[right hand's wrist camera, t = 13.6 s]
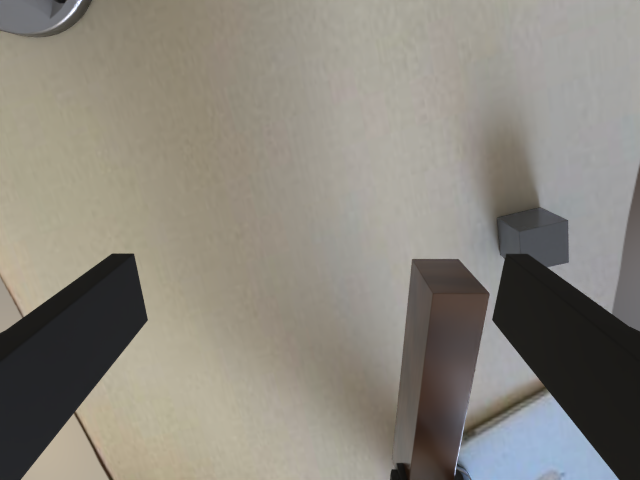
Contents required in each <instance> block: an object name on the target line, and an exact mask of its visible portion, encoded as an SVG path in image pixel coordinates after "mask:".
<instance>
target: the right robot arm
mask: <svg viewBox="0 0 640 480" xmlns="http://www.w3.org/2000/svg"><path fill="white" fill-rule="evenodd" d="M90 3H91V0H0V30H1V31H5V32H9V33H13V34H17V35H22V36H28V37H46V36H52V35H55V34H58V33H60V32H63V31H65V30H66V29H68V28H70V27H71V26H72V25H74V24H75V23H76V22H77V21H78V20H79V19H80V18H81V17H82V16H83V14H84V13H85V12H86V10H87V8H88V7H89V5H90ZM147 320H148V319H147V314H146V309H145V304H144V300H143V295H142V290H141V285H140V280H139V276H138V271H137V266H136V261H135V256H134V254H111V255H110V256H108V257H107V258H106V259H104V260H103V261H101V262H100V263H99V264H97V265H96V266H94V267H93V268H92V269H90V270H89V271H87V272H86V273H85V274H83V275H82V276H81V277H79V278H78V279H76V280H75V281H74V282H72V283H71V284H69V285H68V286H67V287H65V288H64V289H62V290H61V291H60V292H58V293H57V294H56V295H54V296H53V297H51V298H50V299H49V300H47V301H46V302H44V303H43V304H42V305H40V306H39V307H37V308H36V309H35V310H33V311H32V312H31V313H29V314H28V315H26V316H25V317H24V318H22V319H21V320H19V321H18V322H17V323H15V324H14V325H12V326H11V327H10V328H8V329H7V330H6V331H3V332H1V333H0V480H21V479H22V477H23V476H24V475H25V474H26V472H27V471H28V470H29V469H30V467H31V466H32V465H33V464H34V462H35V461H36V460H37V458H38V457H39V456H40V455H41V453H42V452H43V451H44V450H45V448H46V447H47V446H48V445H49V443H50V442H51V441H52V440H53V438H54V437H55V436H56V435H57V433H58V432H59V431H60V430H61V428H62V427H63V426H64V425H65V423H66V422H67V421H68V420H69V418H70V417H71V416H72V415H73V413H74V412H75V411H76V410H77V408H78V407H79V406H80V405H81V403H82V402H83V401H84V400H85V398H86V397H87V396H88V395H89V393H90V392H91V391H92V389H93V388H94V387H95V386H96V384H97V383H98V382H99V381H100V379H101V378H102V377H103V376H104V374H105V373H106V372H107V371H108V369H109V368H110V367H111V366H112V364H113V363H114V362H115V361H116V359H117V358H118V357H119V356H120V354H121V353H122V352H123V351H124V349H125V348H126V347H127V346H128V344H129V343H130V342H131V341H132V339H133V338H134V337H135V336H136V334H137V333H138V332H139V331H140V329H141V328H142V327H143V325H144V324H145V323H146V322H147ZM492 320H493V322H494V323H495V324H496V325H497V327H498V328H499V329H500V331H501V332H502V333H503V334H504V336H505V337H506V338H507V339H508V341H509V342H510V343H511V344H512V346H513V347H514V348H515V349H516V351H517V352H518V353H519V354H520V356H521V357H522V358H523V359H524V361H525V362H526V363H527V364H528V366H529V367H530V368H531V369H532V371H533V372H534V373H535V374H536V376H537V377H538V378H539V379H540V381H541V382H542V383H543V384H544V386H545V387H546V388H547V389H548V391H549V392H550V393H551V395H552V396H553V397H554V398H555V400H556V401H557V402H558V403H559V405H560V406H561V407H562V408H563V410H564V411H565V412H566V413H567V415H568V416H569V417H570V418H571V420H572V421H573V422H574V423H575V425H576V426H577V427H578V428H579V430H580V431H581V432H582V433H583V435H584V436H585V437H586V438H587V440H588V441H589V442H590V443H591V445H592V446H593V447H594V448H595V450H596V451H597V452H598V453H599V455H600V456H601V457H602V459H603V460H604V461H605V462H606V464H607V465H608V466H609V467H610V469H611V470H612V471H613V472H614V474H615V475H616V476H617V477H618V479H619V480H640V331H638V330H636V329H633V328H631V327H629V326H627V325H626V324H625V323H623V322H622V321H620V320H619V319H618V318H616V317H615V316H614V315H612V314H611V313H609V312H608V311H607V310H605V309H604V308H603V307H601V306H600V305H598V304H597V303H596V302H594V301H593V300H591V299H590V298H589V297H587V296H586V295H584V294H583V293H582V292H580V291H579V290H578V289H576V288H575V287H573V286H572V285H571V284H569V283H568V282H566V281H565V280H564V279H562V278H561V277H559V276H558V275H557V274H555V273H554V272H553V271H551V270H550V269H548V268H547V267H546V266H544V265H543V264H541V263H540V262H539V261H537V260H536V259H534V258H533V257H532V256H530V255H529V254H506V256H505V261H504V266H503V271H502V276H501V280H500V285H499V290H498V295H497V300H496V304H495V309H494V314H493V319H492Z"/></svg>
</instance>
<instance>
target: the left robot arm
mask: <svg viewBox="0 0 640 480" xmlns="http://www.w3.org/2000/svg"><path fill="white" fill-rule="evenodd" d="M390 480H407V477H406V472H405V468H404V464H403V463H396V465H395V469H392V470H391V475H390ZM454 480H471V478H470V475H469V474H468V472H467V471H466V470H465V469H463V468H461V467H459V466H457V465H456V470H455V476H454Z"/></svg>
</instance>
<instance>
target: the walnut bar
mask: <svg viewBox="0 0 640 480" xmlns="http://www.w3.org/2000/svg"><path fill="white" fill-rule="evenodd" d="M488 299H489V292H488V291H487V290H486V289H485V288H484V287H483V286H482V285H481V284H480V282H479V281H478V280H477V279H476V278H475V277H474V276H473V275H472V274H471V273H470V271H469V270H468V269H467V268H466V267H465V266H464V265H463V264H462V263H461V262H460V260H459V259H412V266H411V276H410V286H409V296H408V306H407V316H406V326H405V336H404V346H403V356H402V365H401V375H400V385H399V395H398V405H397V415H396V425H395V435H394V445H393V455H392V461H393V466H394V469H395V465H396V463H403V464H404V468H405V472H406V477H407V480H454V476H455V470H456V465H457V460H458V455H459V450H460V444H461V439H462V434H463V429H464V424H465V419H466V413H467V408H468V403H469V398H470V393H471V387H472V382H473V377H474V372H475V367H476V362H477V356H478V351H479V346H480V341H481V336H482V330H483V325H484V320H485V315H486V310H487V305H488Z"/></svg>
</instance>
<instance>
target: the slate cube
mask: <svg viewBox="0 0 640 480" xmlns="http://www.w3.org/2000/svg"><path fill="white" fill-rule="evenodd" d="M497 223H498V234H499V245H500V255H501V256H502V257H503V258H505V256H506V254H529V255H530V256H532V257H533V258H534V259H536V260H537V261H539V262H540V263H541V264H543V265H544V266H546V267H551V266H555V265H559V264H564V263H568V262H569V254H568V220H566V219H564V218H562V217H560V216H558V215H556V214H553V213H551V212H549V211H547V210H545V209H543V208H541V207H539V208H535V209H531V210H527V211H523V212H519V213H515V214H510V215H506V216H502V217H498V218H497Z"/></svg>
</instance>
